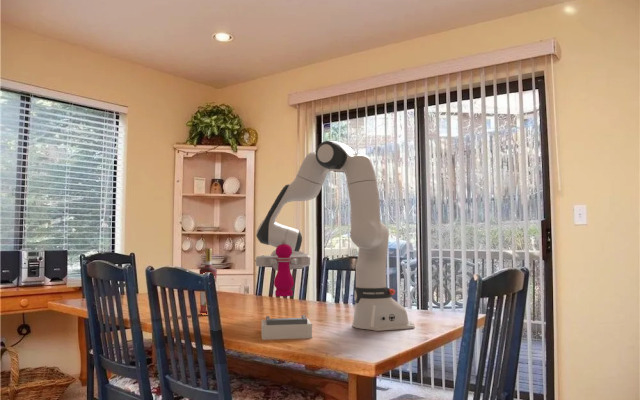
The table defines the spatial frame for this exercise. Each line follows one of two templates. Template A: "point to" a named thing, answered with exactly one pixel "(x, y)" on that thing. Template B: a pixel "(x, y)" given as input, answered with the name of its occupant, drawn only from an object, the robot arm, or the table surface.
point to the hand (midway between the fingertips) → (284, 261)
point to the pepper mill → (283, 271)
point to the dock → (286, 328)
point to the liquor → (207, 268)
